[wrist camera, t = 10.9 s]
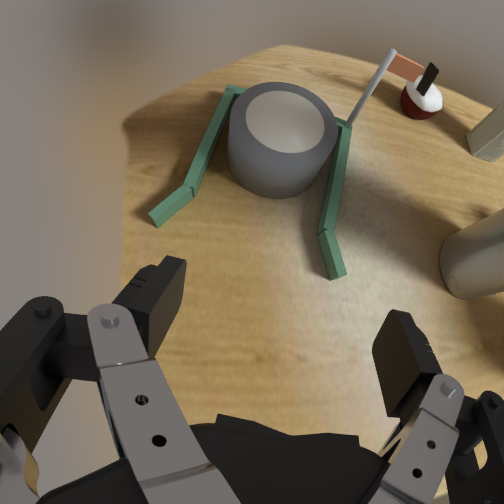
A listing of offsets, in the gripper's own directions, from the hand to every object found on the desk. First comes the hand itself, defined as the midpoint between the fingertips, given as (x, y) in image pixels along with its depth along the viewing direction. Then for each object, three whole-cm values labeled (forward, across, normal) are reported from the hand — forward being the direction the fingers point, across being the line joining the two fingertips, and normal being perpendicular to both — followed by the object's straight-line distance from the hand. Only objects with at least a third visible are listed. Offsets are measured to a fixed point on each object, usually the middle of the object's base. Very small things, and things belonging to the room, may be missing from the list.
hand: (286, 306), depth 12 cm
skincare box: (+41, -32, -12) cm, 53 cm away
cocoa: (+41, -17, -13) cm, 46 cm away
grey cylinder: (+29, +2, -1) cm, 29 cm away
